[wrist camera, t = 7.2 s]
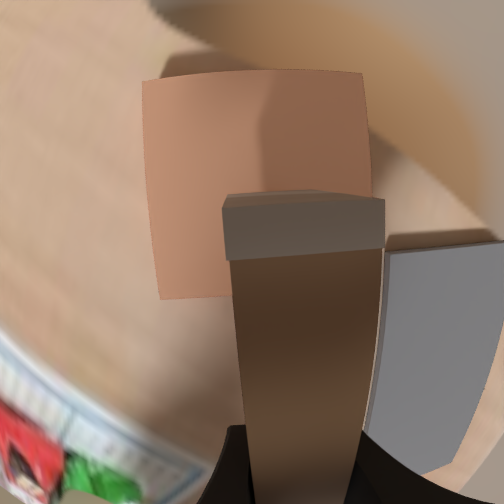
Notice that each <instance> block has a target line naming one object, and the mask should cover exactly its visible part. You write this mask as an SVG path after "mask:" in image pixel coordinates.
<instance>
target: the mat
mask: <svg viewBox="0 0 504 504" xmlns="http://www.w3.org/2000/svg"><path fill="white" fill-rule="evenodd" d="M503 321H504V240H503V241H493V242H484V243H474V244H463V245H453V246H443V247H432V248H422V249H411V250H400V251H389V252H385V267H384V286H383V301H382V313H381V324H380V333H379V342H378V350H377V358H376V366H375V373H374V379H373V385H372V392H371V397H370V403H369V408H368V414H367V419H366V424H365V429H364V432H365V433H366V434H367V435H368V436H369V437H370V438H371V439H372V440H373V441H374V442H376V443H377V444H378V445H379V446H380V447H381V448H383V449H384V450H385V451H386V452H387V453H389V454H390V455H391V456H392V457H394V458H395V459H396V460H398V461H399V462H400V463H402V464H403V465H404V466H406V467H407V468H409V469H410V470H412V471H413V472H415V473H417V474H418V475H423V474H425V473H428V472H430V471H433V470H435V469H437V468H440V467H442V466H444V465H447V464H449V463H451V462H452V460H453V458H454V456H455V454H456V452H457V450H458V448H459V446H460V444H461V442H462V440H463V438H464V436H465V434H466V432H467V429H468V427H469V425H470V423H471V420H472V418H473V415H474V413H475V411H476V408H477V406H478V403H479V400H480V398H481V395H482V392H483V390H484V387H485V384H486V381H487V378H488V375H489V372H490V369H491V366H492V363H493V359H494V356H495V353H496V349H497V345H498V342H499V338H500V334H501V330H502V326H503Z"/></svg>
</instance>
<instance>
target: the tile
mask: <svg viewBox="0 0 504 504" xmlns="http://www.w3.org/2000/svg"><path fill="white" fill-rule="evenodd" d="M142 112H143V140H144V159H145V174H146V187H147V199H148V210H149V220H150V229H151V238H152V246H153V254H154V261H155V269H156V276H157V282H158V289H159V295H160V300H166V299H184V298H200V297H215V296H230V295H232V286H231V275H230V263H229V261H226V255H225V244H224V232H223V219H222V206H223V204H224V201H225V199H226V197H227V194H239V193H253V192H269V191H287V190H308V189H313V190H321V191H329V192H337V193H344V194H351V195H358V196H365V197H372V178H371V158H370V143H369V131H368V120H367V110H366V102H365V92H364V85H363V77H362V74H361V73H351V72H339V71H324V70H299V69H293V70H292V69H263V70H237V71H222V72H210V73H200V74H190V75H182V76H175V77H167V78H161V79H154V80H148V81H143V82H142Z"/></svg>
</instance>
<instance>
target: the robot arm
mask: <svg viewBox="0 0 504 504" xmlns="http://www.w3.org/2000/svg"><path fill="white" fill-rule="evenodd" d="M197 504H256V502H255V495H254V487H253V480H252V472H251V464H250V456H249V448H248V439H247V431H246V425H233V426H230V427H228V428H227V434H226V439H225V442H224V446H223V449H222V452H221V455H220V457H219V460H218V462H217V465H216V467H215V469H214V472H213V474H212V476H211V478H210V480H209V482H208V484H207V486H206V488H205V490H204V492H203V494H202V496H201V497H200V499H199V501H198V502H197ZM343 504H493V503H488V502H483V501H479V500H476V499H472V498H469V497H465V496H463V495H460V494H458V493H455V492H453V491H450V490H448V489H445V488H443V487H441V486H439V485H437V484H435V483H433V482H431V481H429V480H427V479H425V478H423V477H422V476H420V475H418V474H417V473H415V472H413V471H412V470H410V469H409V468H407V467H406V466H404V465H403V464H402V463H400V462H399V461H398V460H396V459H395V458H394V457H392V456H391V455H390V454H389V453H387V452H386V451H385V450H384V449H383V448H381V447H380V446H379V445H378V444H377V443H376V442H374V441H373V440H372V439H371V438H370V437H369V436H368V435H367V434H366V433H365V432H364V431H363V430H362V431H361V436H360V441H359V445H358V450H357V454H356V458H355V462H354V466H353V470H352V474H351V478H350V482H349V485H348V489H347V493H346V496H345V499H344V503H343Z"/></svg>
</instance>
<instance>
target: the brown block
mask: <svg viewBox="0 0 504 504" xmlns="http://www.w3.org/2000/svg"><path fill="white" fill-rule="evenodd" d="M222 219H223V232H224V244H225V255H226V261H229V263H230V275H231V286H232V297H233V308H234V318H235V328H236V339H237V348H238V358H239V368H240V377H241V387H242V396H243V405H244V414H245V422H246V431H247V439H248V448H249V456H250V464H251V472H252V480H253V487H254V495H255V502H256V504H343V503H344V499H345V496H346V493H347V489H348V485H349V482H350V478H351V474H352V470H353V466H354V462H355V458H356V454H357V450H358V445H359V441H360V436H361V431H362V426H363V421H364V416H365V411H366V405H367V400H368V394H369V388H370V381H371V375H372V367H373V360H374V352H375V344H376V335H377V325H378V314H379V301H380V286H381V267H382V248H385V200H384V199H378V198H372V197H365V196H358V195H351V194H344V193H337V192H329V191H321V190H313V189H308V190H287V191H269V192H253V193H239V194H227V197H226V199H225V201H224V204H223V206H222Z"/></svg>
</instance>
